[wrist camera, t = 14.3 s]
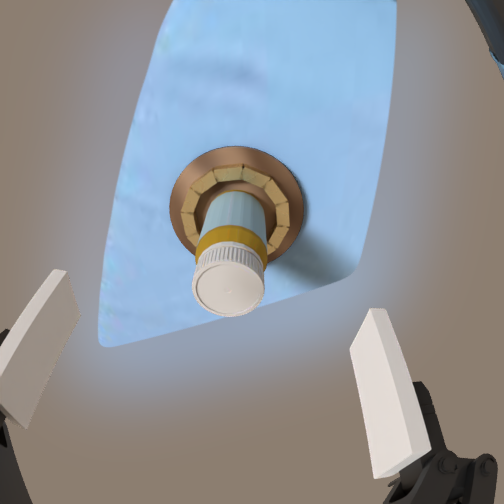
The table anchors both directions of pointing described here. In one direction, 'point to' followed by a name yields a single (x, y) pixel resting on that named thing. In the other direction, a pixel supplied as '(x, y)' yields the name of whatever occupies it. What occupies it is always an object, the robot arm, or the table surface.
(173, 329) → the table surface
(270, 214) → the ring tray
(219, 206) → the bottle
